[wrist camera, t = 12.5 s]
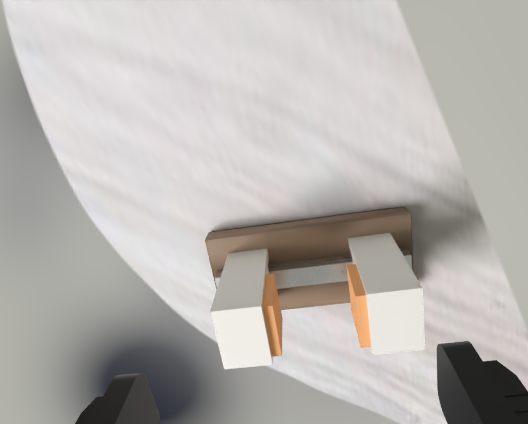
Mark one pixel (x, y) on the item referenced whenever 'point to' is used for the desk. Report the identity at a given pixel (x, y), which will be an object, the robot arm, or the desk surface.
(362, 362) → the desk surface
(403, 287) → the white block with pad
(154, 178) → the desk surface
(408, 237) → the rail
